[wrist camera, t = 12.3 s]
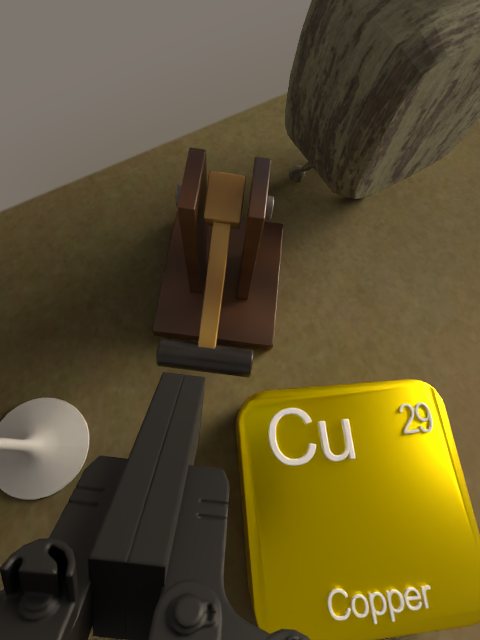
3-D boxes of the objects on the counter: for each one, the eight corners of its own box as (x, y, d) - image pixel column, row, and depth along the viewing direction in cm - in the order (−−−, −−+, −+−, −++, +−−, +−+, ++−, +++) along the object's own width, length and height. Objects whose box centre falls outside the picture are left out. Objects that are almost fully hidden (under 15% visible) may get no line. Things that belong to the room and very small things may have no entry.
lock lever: (249, 373, 25) (250, 381, 23) (161, 362, 25) (153, 369, 23) (273, 190, 25) (277, 179, 22) (183, 178, 24) (177, 166, 22)
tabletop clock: (379, 126, 41) (593, -302, 18) (431, 184, 39) (757, -222, 16) (270, 174, 38) (359, -273, 15) (320, 241, 36) (521, -166, 12)
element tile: (251, 626, 25) (259, 663, 20) (233, 400, 30) (236, 390, 26) (461, 597, 26) (512, 626, 22) (410, 386, 31) (442, 374, 27)
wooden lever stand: (271, 350, 32) (305, 285, 20) (154, 335, 31) (117, 260, 20) (281, 231, 36) (315, 117, 24) (178, 217, 36) (160, 96, 24)
